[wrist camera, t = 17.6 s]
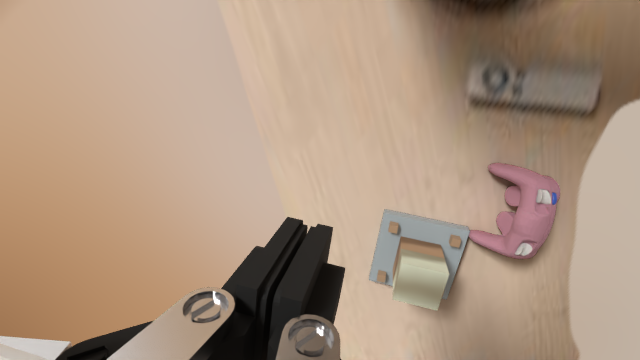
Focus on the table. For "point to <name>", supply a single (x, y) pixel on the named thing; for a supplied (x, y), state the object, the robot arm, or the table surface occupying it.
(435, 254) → the block stack
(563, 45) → the table surface
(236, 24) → the table surface
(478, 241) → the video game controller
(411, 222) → the board
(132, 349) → the robot arm
